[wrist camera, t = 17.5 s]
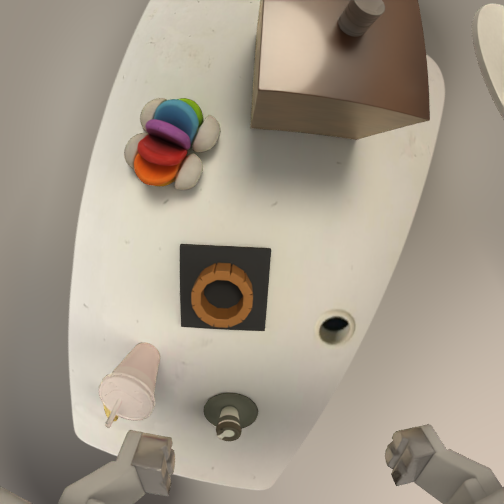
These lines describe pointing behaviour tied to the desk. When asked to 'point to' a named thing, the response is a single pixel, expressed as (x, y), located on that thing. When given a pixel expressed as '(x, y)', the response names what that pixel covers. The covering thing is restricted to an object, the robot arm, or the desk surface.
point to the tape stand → (339, 67)
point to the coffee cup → (230, 414)
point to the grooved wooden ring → (222, 315)
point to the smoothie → (132, 385)
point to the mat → (224, 282)
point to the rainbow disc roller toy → (171, 143)
